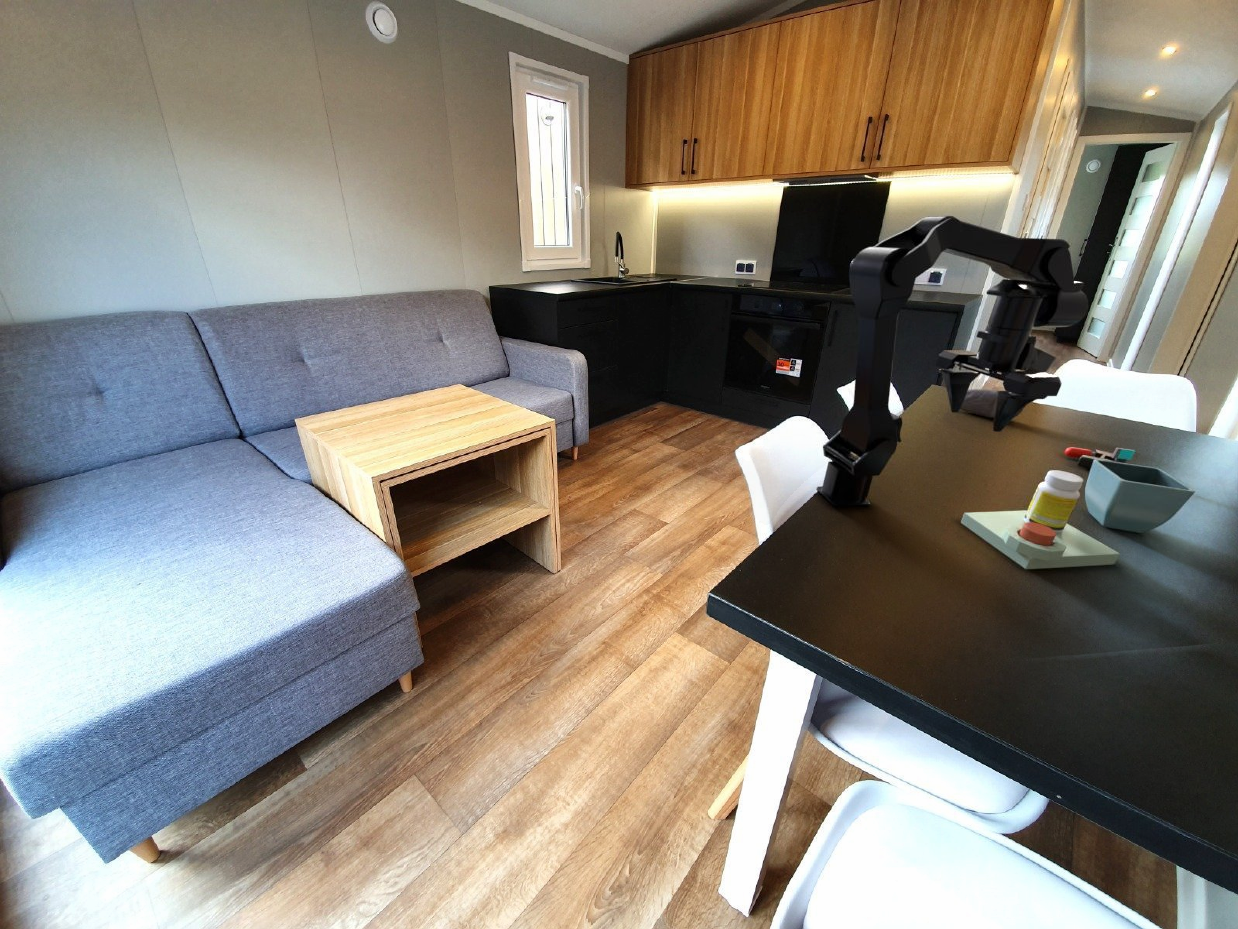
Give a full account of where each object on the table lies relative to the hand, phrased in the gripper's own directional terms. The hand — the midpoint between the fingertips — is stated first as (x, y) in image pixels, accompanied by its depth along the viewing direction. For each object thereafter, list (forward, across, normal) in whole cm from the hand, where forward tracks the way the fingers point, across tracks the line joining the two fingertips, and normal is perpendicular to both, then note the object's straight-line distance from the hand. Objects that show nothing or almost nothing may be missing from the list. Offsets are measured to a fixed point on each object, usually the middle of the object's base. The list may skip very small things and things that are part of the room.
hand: (974, 421), depth 83 cm
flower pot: (+13, -13, -19) cm, 26 cm away
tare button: (+10, -21, +5) cm, 23 cm away
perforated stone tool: (+13, +38, -40) cm, 57 cm away
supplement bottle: (+11, -15, -2) cm, 19 cm away
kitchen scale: (+13, -17, 0) cm, 21 cm away
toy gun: (+13, +9, -40) cm, 43 cm away
